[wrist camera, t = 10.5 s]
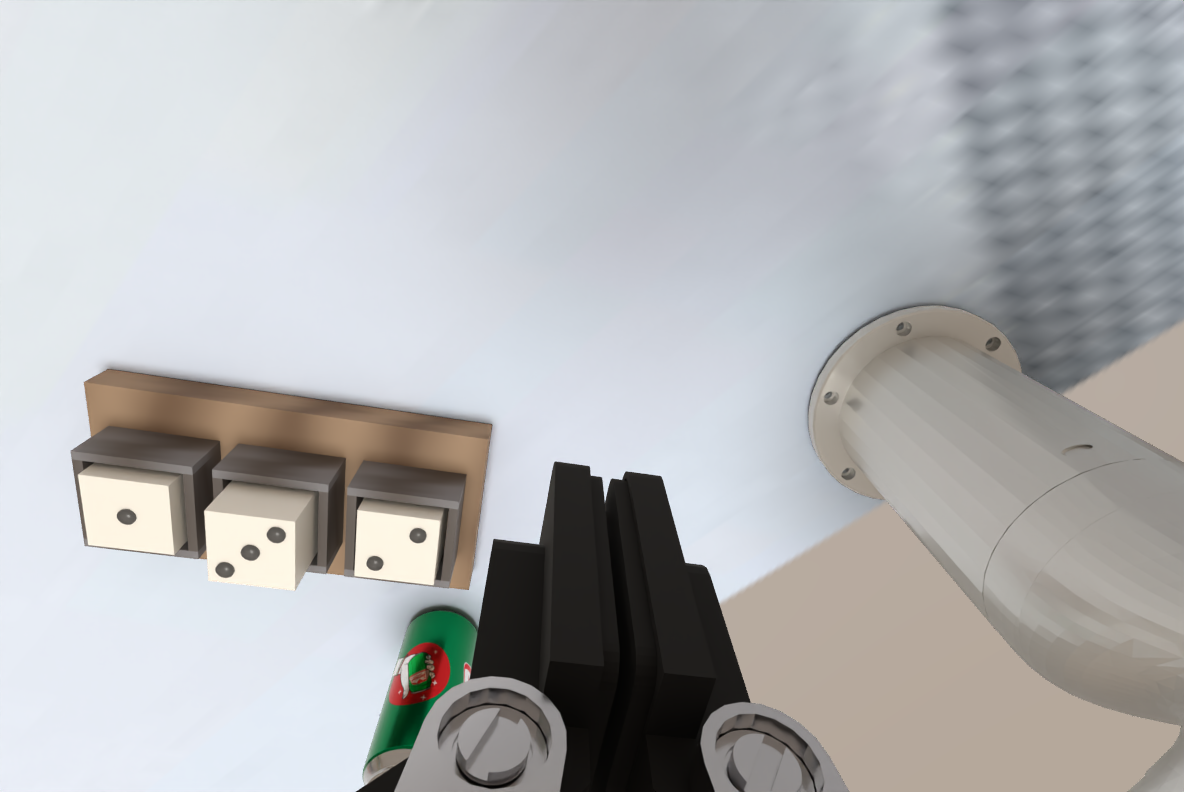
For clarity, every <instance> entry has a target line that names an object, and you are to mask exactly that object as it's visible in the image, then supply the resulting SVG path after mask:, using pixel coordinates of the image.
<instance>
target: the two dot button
mask: <svg viewBox="0 0 1184 792" xmlns="http://www.w3.org/2000/svg"><path fill="white" fill-rule="evenodd" d="M448 509H449V508H443V507H435V506H427V505H420V504H412V503H404V502H396V501H389V500H381V499H373V498H366V497H364V499H363V501H362V503H361V504H360V506H359V508H358V510H357V530H356V552H355V573H354V576H358V577H366V578H375V579H384V580H392V581H401V582H409V583H418V584H426V585H434V582H435V579H436V575H437V572H438V568H439V565H440V561H441V557H442V554H443V550H444V546H445V536H446V527H447V518H448Z"/></svg>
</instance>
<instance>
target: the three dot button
mask: <svg viewBox="0 0 1184 792" xmlns="http://www.w3.org/2000/svg"><path fill="white" fill-rule="evenodd" d="M318 504H319V491H312V490H304V489H296V488H288V487H281V486H273V485H265V484H258V483H250V482H242V481H235V480H232V481H231V482H230V483H229V484H228V485H227V486H226V488H225V489H224V490H223V491H222V492H221V493H220V494H219V495H218V496H217V497H216V498H215V499H214V500H213V502H212V503H211V504H210V505H209V506H208V507H207V508H206V509H205V510H204V515H205V531H206V547H207V564H208V580H209V581H214V582H223V583H232V584H241V585H250V586H258V587H267V588H276V589H285V590H294V591H295V590H296V588H297V586H298V585H299V583H300V581H301V579H302V578H303V576H304V574H305V572H306V571H307V569H308V567H309V565H310V564H311V562H312V560H313V559H314V557H315V555H316V553H317V552H318Z"/></svg>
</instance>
